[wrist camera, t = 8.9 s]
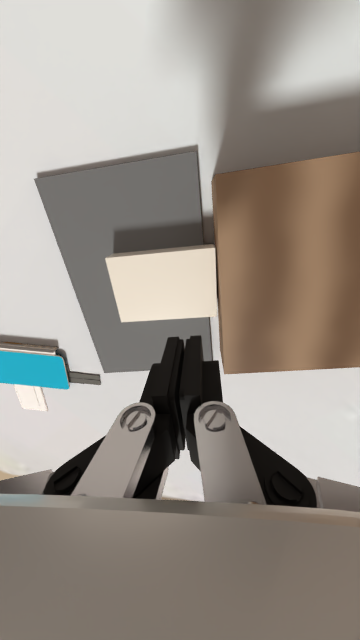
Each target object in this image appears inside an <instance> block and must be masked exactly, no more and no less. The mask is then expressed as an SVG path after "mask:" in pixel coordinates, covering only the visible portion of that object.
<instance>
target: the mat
mask: <svg viewBox="0 0 360 640" xmlns="http://www.w3.org/2000/svg"><path fill="white" fill-rule="evenodd" d="M34 180H35V183H36V186H37V188H38V191H39V194H40V197H41V199H42V202H43V205H44V208H45V210H46V213H47V216H48V219H49V222H50V224H51V227H52V230H53V233H54V235H55V238H56V241H57V244H58V246H59V249H60V252H61V255H62V257H63V260H64V263H65V266H66V268H67V271H68V274H69V277H70V279H71V282H72V285H73V288H74V290H75V293H76V296H77V299H78V301H79V304H80V307H81V310H82V312H83V315H84V318H85V321H86V323H87V326H88V329H89V332H90V334H91V337H92V340H93V343H94V345H95V348H96V351H97V354H98V356H99V359H100V362H101V365H102V368H103V370H104V373H112V372H130V371H148V370H150V369H151V366H152V364H153V363H161V360H162V356H163V353H164V349H165V346H166V342H167V338H168V337H179V338H180V339H183V340H184V347H185V344H186V339H190V336H196V335H201V337H202V347H203V358H204V361H212V354H211V341H210V327H209V317H200V318H184V319H167V320H151V321H135V322H121V319H120V315H119V311H118V307H117V303H116V300H115V296H114V292H113V288H112V284H111V280H110V276H109V272H108V268H107V264H106V260H105V258H106V257H108V256H110V255H112V254H115V253H125V252H135V251H146V250H156V249H166V248H176V247H187V246H197V245H203V233H202V220H201V206H200V193H199V179H198V166H197V152H196V151H193V152H187V153H181V154H175V155H170V156H164V157H158V158H152V159H146V160H141V161H135V162H129V163H123V164H117V165H112V166H106V167H100V168H94V169H88V170H83V171H77V172H71V173H65V174H59V175H54V176H48V177H42V178H36V179H34Z"/></svg>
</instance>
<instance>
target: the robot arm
mask: <svg viewBox="0 0 360 640" xmlns="http://www.w3.org/2000/svg"><path fill="white" fill-rule="evenodd" d="M185 438H186V442H187V448H188V450H189V451H190V457H191V461H192V462H193V464H194V465H195V466H196V467H197V468H198V469H199V470H200V471H201V477H202V485H203V492H204V500H205V502H199V501H178V500H161V497H162V493H163V489H164V486H165V482H166V478H167V475H168V466H169V465H170V464H171V463H173V462H174V461H175V459H179V455H180V450H184V449H185ZM0 640H360V487H357V486H353V485H349V484H345V483H341V482H337V481H333V480H329V479H325V478H321V477H317V480H315V479H311V478H307V477H306V476H305V475H304V474H302V473H301V472H300V471H299V470H298V469H297V468H295V467H294V466H293V465H291V464H290V463H289V462H287V461H286V460H285V459H283V458H282V457H280V456H279V455H278V454H276V453H275V452H274V451H272V450H271V449H270V448H268V447H267V446H266V445H264V444H263V443H262V442H260V441H259V440H258V439H256V438H255V437H254V436H252V435H251V434H249V433H248V432H247V431H245V430H244V429H243V428H241V427H240V426H239V423H238V421H237V418H236V415H235V413H234V411H233V409H232V408H231V407H230V406H228V405H227V404H225V403H223V399H222V389H221V380H220V370H219V361H204V358H203V347H202V337H201V335H196V336H190V339H186V344H185V347H184V340H183V339H180V338H179V337H168V338H167V342H166V346H165V349H164V353H163V356H162V360H161V363H153V364H152V366H151V369H150V372H149V375H148V378H147V381H146V384H145V387H144V390H143V393H142V396H141V399H140V402H139V403H134V404H131V405H129V406H127V407H126V408H124V409H123V410H122V411H121V412H120V414H119V415H118V416H117V418H116V420H115V421H114V423H113V425H112V427H111V428H110V430H109V432H108V433H107V435H106V436H104V437H103V438H101V439H100V440H98V441H97V442H95V443H94V444H93V445H91V446H90V447H88V448H87V449H85V450H84V451H82V452H81V453H79V454H78V455H76V456H75V457H73V458H72V459H70V460H69V461H68V462H66V463H65V464H63V465H62V466H61V467H60V468H58V469H57V470H56V471H55V472H53V471H52V470H51V469H50V470H46V471H41V472H37V473H32V474H28V475H23V476H19V477H14V478H10V479H5V480H1V481H0Z"/></svg>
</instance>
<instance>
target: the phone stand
mask: <svg viewBox="0 0 360 640" xmlns="http://www.w3.org/2000/svg"><path fill="white" fill-rule="evenodd" d="M58 348H59V347H49V346H42V345H41V346H39V345H28V344H21V343H11V342H0V383H6V384H13V385H14V388H15V390H16V393H17V396H18V398H19V401H20V403H21V406H22V409H31V410H41V411H48V407H47V404H46V401H45V397H44V394H43V391H42V388H41V387H46V388H56V389H69V387H70V385H69V382H72V383H82V384H84V383H85V384H95V385H101V384H100V381H98V380H100V376H98V375H88V374H82V373H76V372H70V371H69V366H68V365H65V363H64V359H63V358H62V356H61V355H59V356H57V355H56V354H55V351H56V350H57V349H58ZM5 350H6V351H5ZM83 378H84V379H83ZM88 379H94V380H88Z"/></svg>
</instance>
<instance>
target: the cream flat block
mask: <svg viewBox="0 0 360 640" xmlns="http://www.w3.org/2000/svg"><path fill="white" fill-rule="evenodd" d="M105 260H106V264H107V268H108V272H109V276H110V280H111V284H112V288H113V292H114V296H115V300H116V303H117V307H118V311H119V315H120V319H121V322H135V321H151V320H167V319H184V318H200V317H216V316H217V293H216V257H215V246H214V244H207V245H197V246H187V247H176V248H166V249H156V250H146V251H135V252H125V253H115V254H112V255H110V256H108V257H106V258H105Z"/></svg>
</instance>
